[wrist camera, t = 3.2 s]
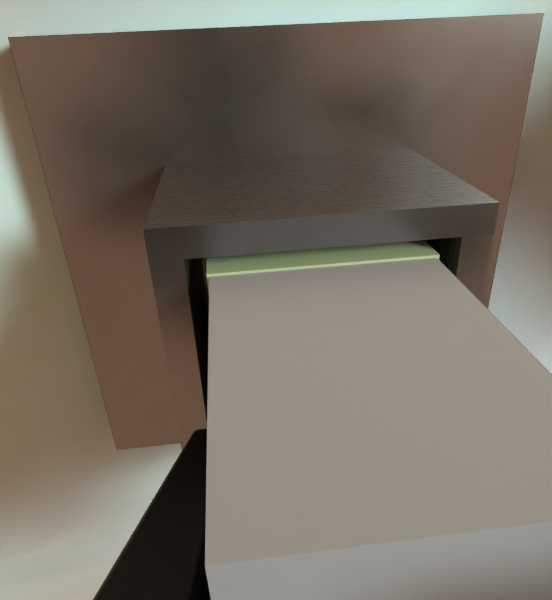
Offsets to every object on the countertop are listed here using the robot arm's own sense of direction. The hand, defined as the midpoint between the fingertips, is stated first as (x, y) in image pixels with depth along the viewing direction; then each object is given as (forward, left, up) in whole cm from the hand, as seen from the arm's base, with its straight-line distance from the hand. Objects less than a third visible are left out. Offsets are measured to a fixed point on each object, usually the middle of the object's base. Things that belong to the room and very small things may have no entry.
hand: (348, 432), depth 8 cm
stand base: (0, 0, -8) cm, 8 cm away
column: (0, 0, -5) cm, 5 cm away
